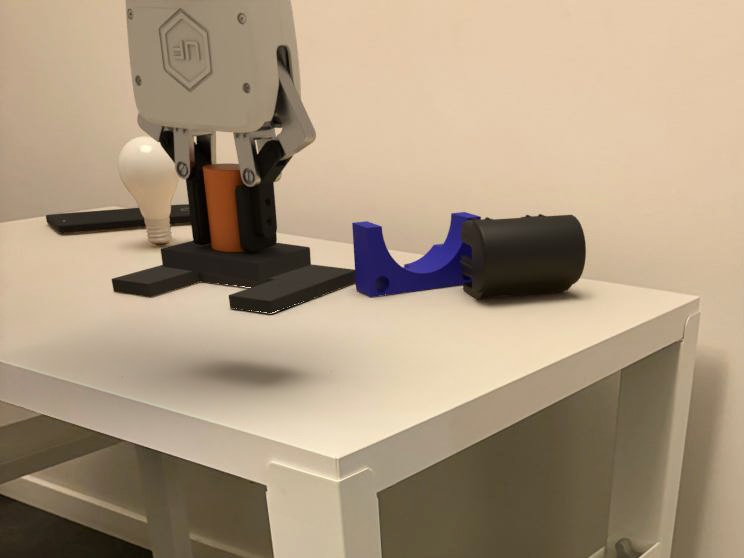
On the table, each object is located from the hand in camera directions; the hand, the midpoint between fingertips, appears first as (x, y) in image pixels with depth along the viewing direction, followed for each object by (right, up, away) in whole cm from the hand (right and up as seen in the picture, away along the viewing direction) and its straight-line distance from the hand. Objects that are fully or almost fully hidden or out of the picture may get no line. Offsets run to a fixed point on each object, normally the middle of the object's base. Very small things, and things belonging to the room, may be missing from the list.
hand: (235, 242), depth 67 cm
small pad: (0, -1, +1) cm, 2 cm away
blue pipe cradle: (+10, +7, +29) cm, 31 cm away
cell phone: (-27, +25, +55) cm, 66 cm away
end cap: (+20, +5, +26) cm, 33 cm away
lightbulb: (-19, +17, +44) cm, 51 cm away
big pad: (-7, +7, +27) cm, 29 cm away
